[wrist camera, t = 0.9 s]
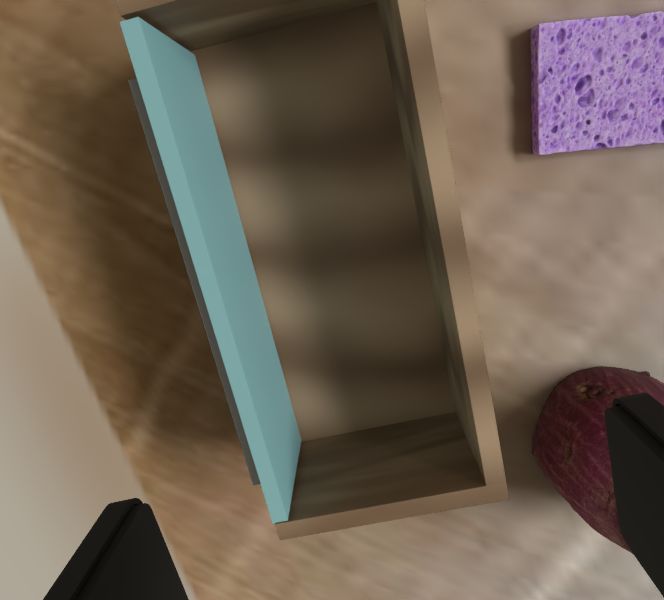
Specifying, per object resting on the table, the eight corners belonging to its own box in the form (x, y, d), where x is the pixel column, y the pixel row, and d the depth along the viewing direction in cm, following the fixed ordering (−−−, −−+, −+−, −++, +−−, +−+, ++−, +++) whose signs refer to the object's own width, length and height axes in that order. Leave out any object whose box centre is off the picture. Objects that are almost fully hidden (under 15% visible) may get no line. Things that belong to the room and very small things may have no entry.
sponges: (527, 29, 30) (538, 21, 28) (755, 4, 29) (782, -6, 28) (527, 156, 32) (537, 156, 30) (742, 135, 31) (766, 134, 29)
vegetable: (529, 474, 40) (550, 675, 27) (528, 356, 36) (551, 525, 23) (687, 483, 37) (796, 715, 24) (704, 356, 33) (846, 550, 20)
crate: (184, 40, 30) (112, -12, 21) (389, -15, 29) (407, -95, 20) (297, 445, 37) (279, 540, 28) (468, 411, 36) (509, 499, 26)
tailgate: (170, 61, 29) (105, 25, 21) (195, 54, 29) (138, 16, 21) (281, 443, 35) (261, 525, 27) (301, 439, 35) (287, 520, 27)
